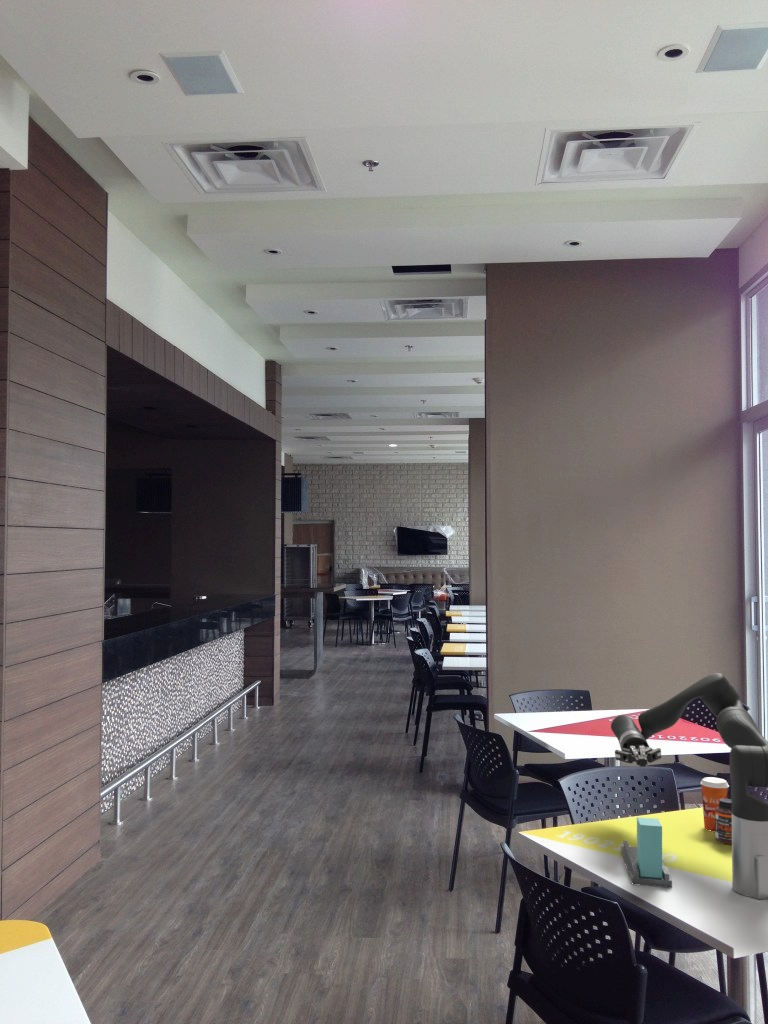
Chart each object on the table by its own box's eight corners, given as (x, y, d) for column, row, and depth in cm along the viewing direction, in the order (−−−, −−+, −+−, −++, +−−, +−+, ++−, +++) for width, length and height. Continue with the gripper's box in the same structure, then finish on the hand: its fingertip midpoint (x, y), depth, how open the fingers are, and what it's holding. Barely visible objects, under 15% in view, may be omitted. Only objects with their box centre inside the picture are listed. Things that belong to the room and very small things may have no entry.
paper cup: (697, 829, 237) (697, 780, 238) (704, 823, 243) (704, 775, 244) (726, 835, 232) (725, 785, 233) (732, 828, 239) (731, 779, 240)
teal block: (636, 867, 201) (636, 817, 202) (658, 869, 200) (658, 818, 201) (640, 876, 195) (640, 824, 196) (662, 878, 195) (662, 826, 195)
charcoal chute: (620, 851, 217) (620, 840, 217) (656, 854, 216) (656, 842, 216) (632, 884, 195) (632, 871, 195) (671, 887, 193) (671, 874, 193)
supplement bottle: (715, 843, 225) (715, 801, 226) (714, 837, 231) (714, 796, 231) (739, 846, 223) (738, 804, 224) (738, 840, 229) (737, 798, 229)
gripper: (659, 758, 235) (669, 776, 218) (611, 760, 237) (618, 778, 220) (656, 731, 235) (666, 747, 218) (609, 734, 237) (615, 749, 220)
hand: (642, 762), depth 219 cm, fingers closed
